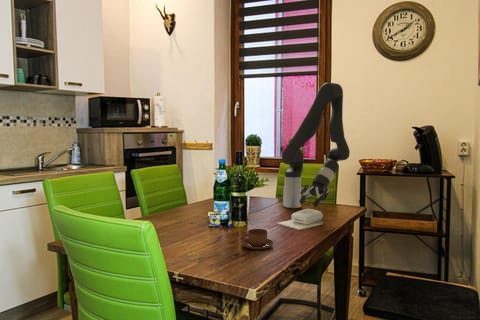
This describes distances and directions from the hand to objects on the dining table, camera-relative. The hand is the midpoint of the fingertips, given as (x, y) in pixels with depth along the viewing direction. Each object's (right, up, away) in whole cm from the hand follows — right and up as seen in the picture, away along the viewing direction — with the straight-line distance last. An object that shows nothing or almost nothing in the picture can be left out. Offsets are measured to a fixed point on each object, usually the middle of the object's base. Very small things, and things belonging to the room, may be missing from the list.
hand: (307, 204), depth 191 cm
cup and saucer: (-25, -12, -36) cm, 46 cm away
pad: (-4, -9, -2) cm, 10 cm away
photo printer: (+4, -5, +4) cm, 7 cm away
